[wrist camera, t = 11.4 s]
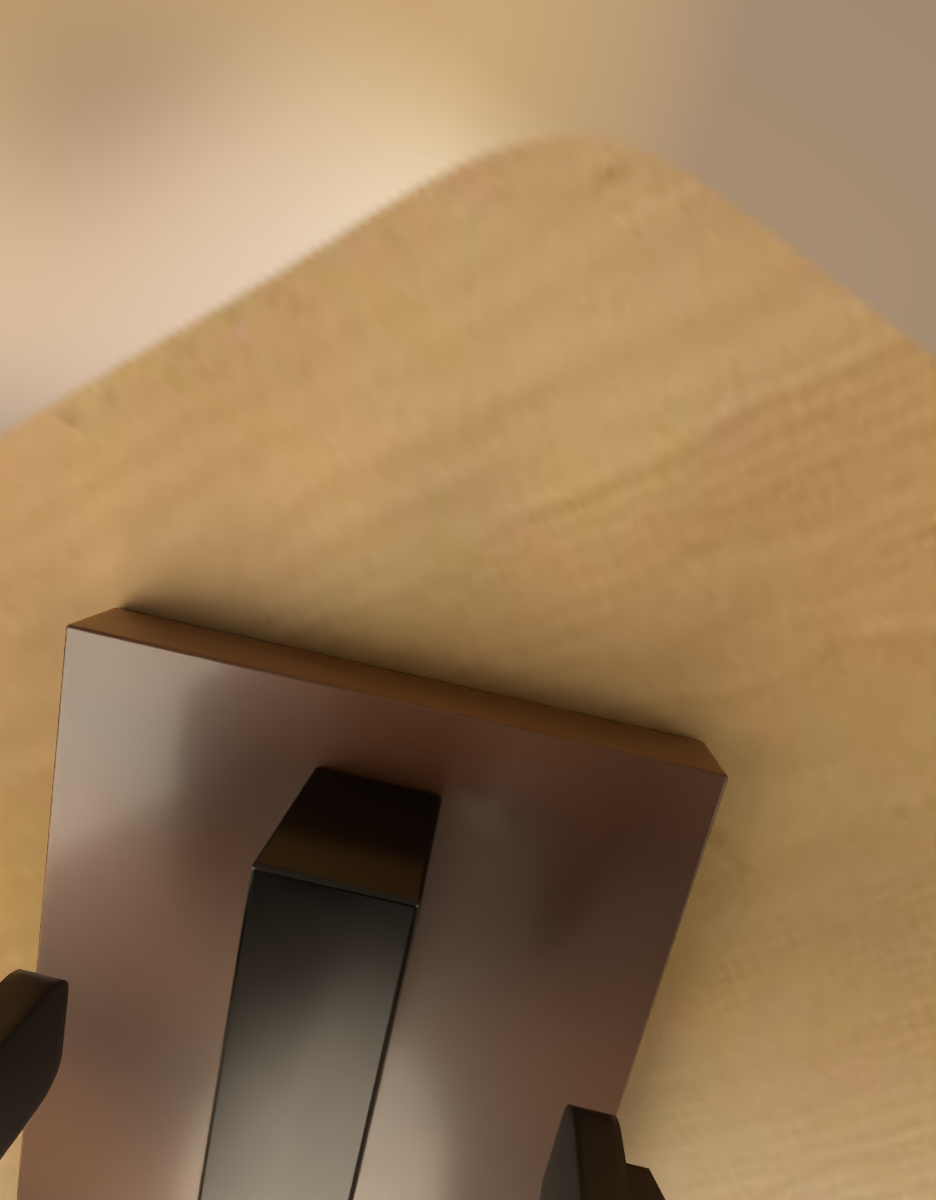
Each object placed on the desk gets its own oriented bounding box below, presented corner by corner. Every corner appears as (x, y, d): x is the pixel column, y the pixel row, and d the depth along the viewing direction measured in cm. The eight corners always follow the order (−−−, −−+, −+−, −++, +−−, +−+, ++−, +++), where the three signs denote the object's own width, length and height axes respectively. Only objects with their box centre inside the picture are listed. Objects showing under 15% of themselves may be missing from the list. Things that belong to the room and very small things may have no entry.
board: (115, 606, 13) (64, 624, 12) (704, 740, 13) (730, 776, 11) (46, 1270, 17) (2, 1348, 15) (500, 1382, 17) (499, 1471, 15)
